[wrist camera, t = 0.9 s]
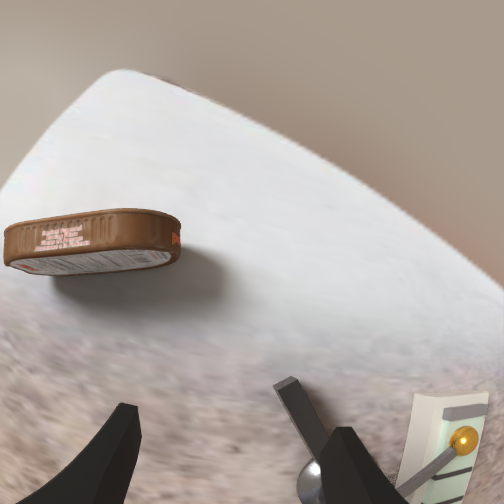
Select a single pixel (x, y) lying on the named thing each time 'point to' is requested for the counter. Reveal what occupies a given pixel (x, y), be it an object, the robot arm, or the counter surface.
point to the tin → (93, 242)
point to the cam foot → (317, 438)
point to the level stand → (441, 443)
